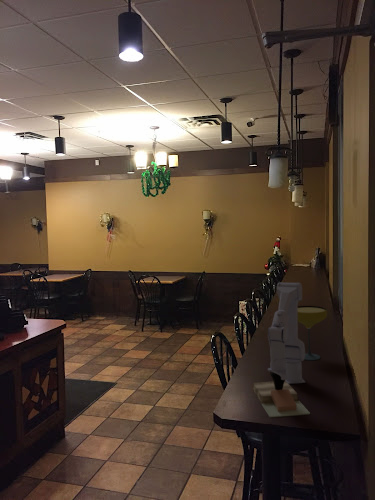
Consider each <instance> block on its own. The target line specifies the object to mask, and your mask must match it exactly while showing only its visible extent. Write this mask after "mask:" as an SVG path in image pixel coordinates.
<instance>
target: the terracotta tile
mask: <svg viewBox="0 0 375 500" xmlns="http://www.w3.org/2000/svg"><path fill="white" fill-rule="evenodd" d="M271 397H272V399H273V401H274V404H275V406H276V408H277V411H287V410H296V407H297V405H296V403H295V401H294V399H293V397H292V395H291V393H290V391H289V389H283V390H271Z"/></svg>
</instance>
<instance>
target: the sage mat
mask: <svg viewBox="0 0 375 500" xmlns="http://www.w3.org/2000/svg"><path fill="white" fill-rule="evenodd" d="M295 403H296V405H297V407H296V410H287V411H277V408H276V406H275V404H274V403H264V404H262V403H260V404H261V406H262V408H263V409H264V410H265V412H266V414H267V415H268V417H269V418H270V419H271V418H280V417H281V418H282V417H283V418H284V417H293V416H304V415H311V412H310V411H309V410H308V409H307V408H306V407H305V405H304V404H303V402H301V401H300V400H297V401H295Z"/></svg>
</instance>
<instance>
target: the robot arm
mask: <svg viewBox="0 0 375 500" xmlns="http://www.w3.org/2000/svg"><path fill="white" fill-rule="evenodd" d="M276 294H277V297H278V299H279V302H278V307H277V308H278V310H276V311H275V312H274V314H273V318H272V323H271V325H270V327H268V329H267V340H268V346H269V349H270V351H269V355H270V362H269V363H270V364H269V366H270V367H268V368H267V372H270V373H269V374H270V376H271V379H272V382H274V386H275V390H282V389H283V385H284V382H285V381H286V382H287V383H288V384H289V385H291V384H303V383H306V381H305V379H304V378H303V372H302V371H303V370H302V369H303V365H302V362H304V361H305V360H304V359H305V353H306V349H305V342H304V341H302V340H301V339H300V338H299V335H298V334H299V333H298V331H299V330H298V329H299V325H298V324H299V322H298V306H299V302H300V301H303V285H302V283H301V282H281V281H280V282H279V281H278V283H277V284H276Z"/></svg>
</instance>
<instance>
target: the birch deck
mask: <svg viewBox="0 0 375 500" xmlns="http://www.w3.org/2000/svg"><path fill="white" fill-rule="evenodd" d="M283 389H289V391H290V393H291V395H292V397H293V399H294V401H298V393H297V391H295V390H294V388H293V387H292V386H291V384H288V383H287V382H286V381H285V382H284V385H283ZM283 389H282V390H283ZM253 390H254V391H253ZM271 390H275V386H274V382H273V381H261V382H253V383H252V391H253V392H254V394H255V395H256V396H257V398H258V400H259V402H260V404H264V403H274V401H273V399H272V397H271Z"/></svg>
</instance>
